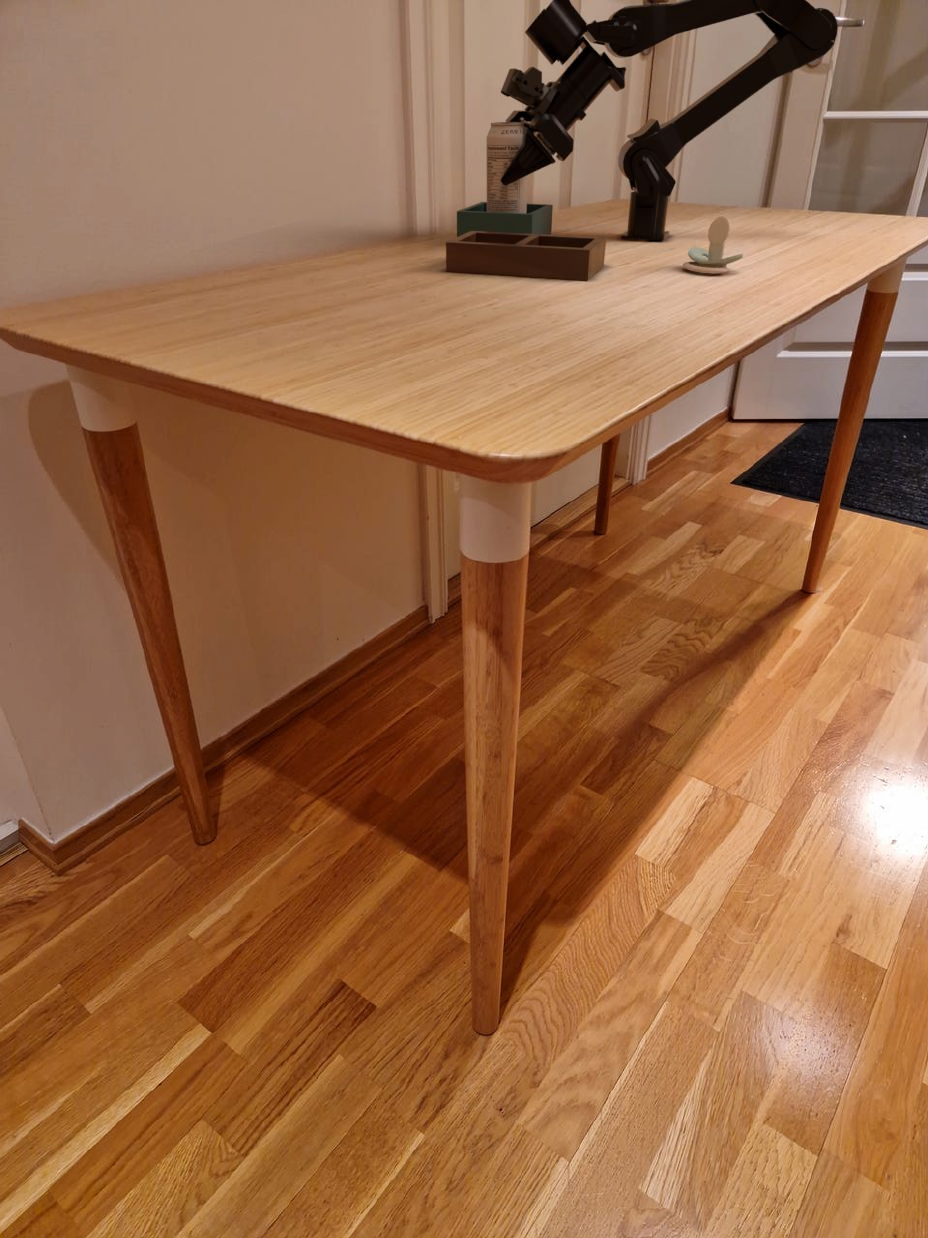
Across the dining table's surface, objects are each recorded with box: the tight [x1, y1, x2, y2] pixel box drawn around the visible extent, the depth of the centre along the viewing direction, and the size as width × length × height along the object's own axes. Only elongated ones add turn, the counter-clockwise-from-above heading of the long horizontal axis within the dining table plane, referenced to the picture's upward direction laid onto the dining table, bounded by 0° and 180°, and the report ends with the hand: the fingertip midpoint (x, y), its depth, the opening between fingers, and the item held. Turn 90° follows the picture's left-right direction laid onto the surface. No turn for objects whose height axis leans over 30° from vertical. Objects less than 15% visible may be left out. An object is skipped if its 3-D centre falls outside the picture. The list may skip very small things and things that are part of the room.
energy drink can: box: [486, 121, 528, 214], centre depth 124 cm, size 6×6×15 cm
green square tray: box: [456, 201, 554, 238], centre depth 127 cm, size 12×12×4 cm
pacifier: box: [681, 216, 744, 274], centre depth 106 cm, size 7×6×6 cm
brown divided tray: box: [445, 231, 607, 282], centre depth 108 cm, size 10×19×4 cm, turn 70°
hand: (497, 180), depth 124 cm, fingers closed on energy drink can, 6 cm apart
